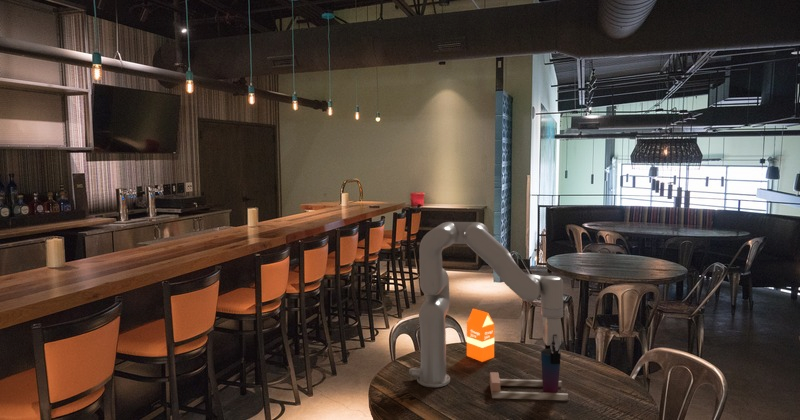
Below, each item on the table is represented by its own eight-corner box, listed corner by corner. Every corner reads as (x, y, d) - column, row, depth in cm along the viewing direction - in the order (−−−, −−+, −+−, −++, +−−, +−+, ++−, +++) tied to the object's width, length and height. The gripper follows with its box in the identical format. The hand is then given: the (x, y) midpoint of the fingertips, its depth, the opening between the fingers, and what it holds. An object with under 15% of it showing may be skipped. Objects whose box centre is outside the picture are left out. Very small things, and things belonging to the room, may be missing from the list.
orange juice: (478, 351, 224) (478, 306, 222) (494, 357, 217) (494, 311, 215) (466, 355, 219) (466, 310, 217) (482, 362, 212) (482, 314, 210)
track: (492, 397, 181) (492, 384, 180) (489, 383, 192) (489, 370, 192) (568, 400, 178) (568, 386, 178) (561, 385, 190) (561, 372, 189)
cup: (536, 389, 187) (537, 349, 185) (552, 387, 189) (553, 347, 187) (547, 398, 180) (548, 356, 179) (564, 395, 182) (565, 354, 181)
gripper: (537, 304, 190) (537, 349, 192) (545, 319, 173) (546, 368, 175) (557, 304, 189) (558, 349, 191) (568, 319, 172) (568, 368, 174)
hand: (552, 358), depth 183 cm, fingers open, 9 cm apart
